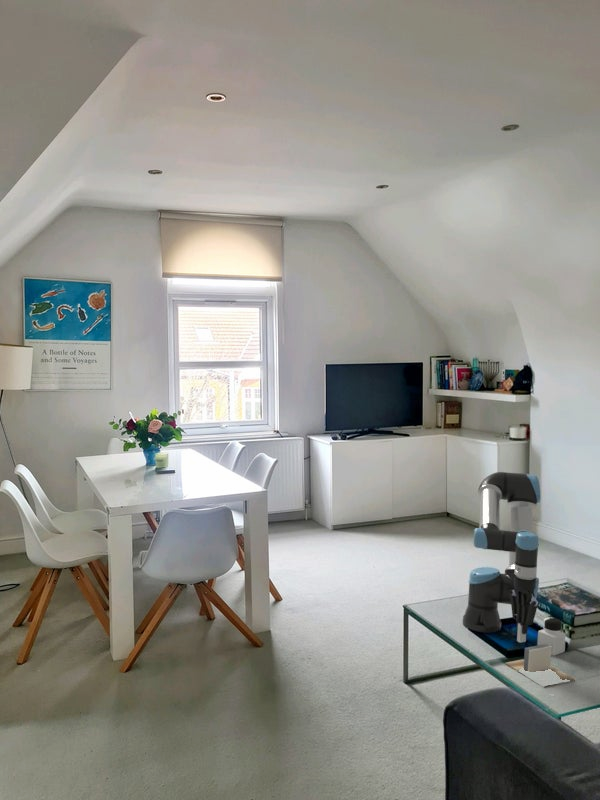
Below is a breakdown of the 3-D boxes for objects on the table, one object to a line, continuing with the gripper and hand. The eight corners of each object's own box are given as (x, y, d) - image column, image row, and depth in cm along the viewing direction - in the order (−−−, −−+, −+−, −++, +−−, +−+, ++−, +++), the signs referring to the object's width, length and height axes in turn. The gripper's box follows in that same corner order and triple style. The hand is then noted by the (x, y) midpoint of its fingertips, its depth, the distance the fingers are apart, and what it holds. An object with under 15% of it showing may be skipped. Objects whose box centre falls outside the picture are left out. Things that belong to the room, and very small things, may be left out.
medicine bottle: (564, 652, 242) (566, 620, 241) (553, 656, 238) (555, 624, 237) (548, 645, 248) (549, 614, 247) (536, 649, 244) (538, 617, 243)
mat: (505, 664, 229) (505, 662, 229) (534, 658, 235) (534, 656, 235) (543, 687, 213) (543, 686, 213) (574, 680, 219) (574, 679, 219)
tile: (523, 670, 224) (524, 647, 224) (544, 666, 228) (546, 643, 228) (528, 673, 222) (529, 650, 221) (550, 669, 226) (551, 646, 226)
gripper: (504, 572, 235) (500, 635, 236) (530, 583, 223) (526, 650, 224) (519, 570, 238) (516, 633, 239) (546, 581, 227) (542, 647, 228)
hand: (521, 641), depth 232 cm, fingers closed
